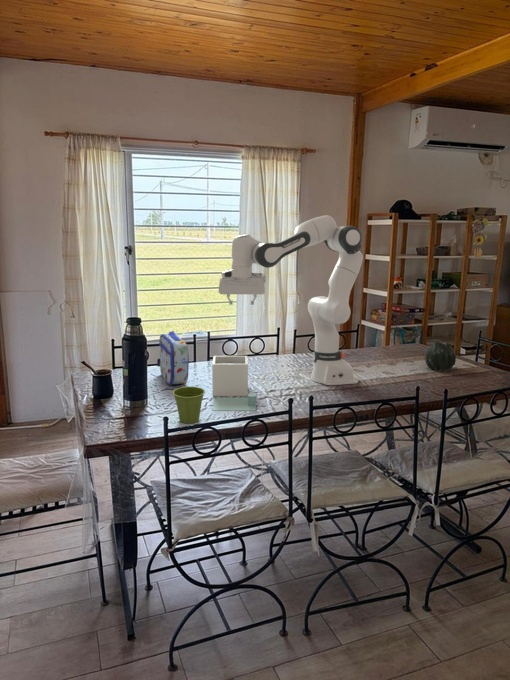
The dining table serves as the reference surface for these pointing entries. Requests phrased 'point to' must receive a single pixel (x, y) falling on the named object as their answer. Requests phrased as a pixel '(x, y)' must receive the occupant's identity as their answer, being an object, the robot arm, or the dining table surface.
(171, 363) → the lunch box
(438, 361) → the squash
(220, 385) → the tub
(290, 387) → the dining table surface
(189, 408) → the plant pot
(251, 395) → the lid
